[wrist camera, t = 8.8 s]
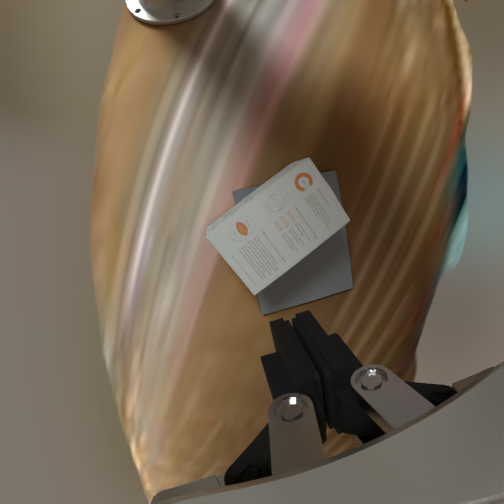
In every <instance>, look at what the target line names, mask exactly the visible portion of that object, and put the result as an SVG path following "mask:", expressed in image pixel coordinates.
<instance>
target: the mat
mask: <svg viewBox="0 0 504 504" xmlns="http://www.w3.org/2000/svg"><path fill="white" fill-rule="evenodd" d="M320 174H321V175H322V177H323V178H324V180H325V181H326V182H327V183H328V185H329V186H330V188H331V189H332V191H333V192H334V194H335V196H336V198H337V200H338V201H339V203H340V204H341V206H342V201H341V196H340V190H339V184H338V179H337V174H336V170H333V171H328V172H322V173H320ZM260 186H261V185H259V186H255V187H250V188H246V189H242V190H237V191H233V194H234V198H235V203H236V204H237V203H239V202H240V201H241V200H243V199H244V198H245V197H246V196H248V195H249V194H250V193H252V192H253V191H254V190H256V189H257V188H258V187H260ZM342 208H343V207H342ZM351 288H353V282H352V273H351V264H350V256H349V248H348V240H347V233H346V226H345V225H344V226H343V227H342V228H341V229H340V230H338V231H337V232H336V233H335V234H333V235H332V236H331V237H330V238H328V239H327V240H326V241H325V242H323V243H322V244H321V245H320V246H318V247H317V248H316V249H315V250H313V251H312V252H311V253H310V254H308V255H307V256H306V257H305V258H303V259H302V260H301V261H300V262H298V263H297V264H296V265H294V266H293V267H292V268H291V269H289V270H288V271H287V272H286V273H284V274H283V275H282V276H280V277H279V278H278V279H276V280H275V281H274V282H272V283H271V284H270V285H268V286H267V287H266V288H264V289H263V290H262V291H260V292H259V293H258V294H257V296H258V300H259V304H260V308H261V313H262V315H264V314H268V313H272V312H275V311H279V310H282V309H286V308H289V307H293V306H296V305H300V304H303V303H306V302H310V301H313V300H316V299H319V298H323V297H326V296H329V295H332V294H335V293H339V292H342V291H345V290H348V289H351Z"/></svg>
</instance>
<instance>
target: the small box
mask: <svg viewBox="0 0 504 504" xmlns="http://www.w3.org/2000/svg"><path fill="white" fill-rule="evenodd" d="M349 221H350V219H349V217H348V216H347V214H346V213H345V211H344V209H343V208H342V206H341V204H340V203H339V201H338V200H337V198H336V196H335V194H334V192H333V191H332V189H331V188H330V186H329V185H328V183H327V182H326V181H325V180H324V178H323V177H322V175H321V174H320V172H319V171H318V169H317V168H316V167H315V165H314V163H313V162H312V160H311V159H310V158H305V159H302V160H298V161H295V162H292V163H291V164H289V165H288V166H286V167H285V168H284V169H282V170H281V171H280V172H278V173H277V174H276V175H274V176H273V177H271V178H270V179H269V180H267V181H266V182H265V183H264V184H262V185H261V186H260V187H258V188H257V189H256V190H254V191H253V192H252V193H250V194H249V195H248V196H246V197H245V198H244V199H243V200H241V201H240V202H239V203H237V204H236V205H235V206H233V207H232V208H231V209H230V210H228V211H227V212H226V213H225V214H223V215H222V216H221V217H220V218H218V219H217V220H216V221H215V222H213V223H212V224H211V225H210V226H208V228H207V233H206V238H207V239H208V240H209V241H210V243H211V244H212V245H213V246H214V247H215V249H216V250H217V251H218V252H219V253H220V255H221V256H222V257H223V258H224V259H225V261H226V262H227V263H228V264H229V265H230V267H231V268H232V269H233V270H234V271H235V273H236V274H237V275H238V276H239V277H240V279H241V280H242V281H243V282H244V283H245V285H246V286H247V287H248V288H249V289H250V291H251V292H252V293H253V294H254V295H256V294H258V293H259V292H260V291H262V290H263V289H264V288H266V287H267V286H268V285H270V284H271V283H272V282H274V281H275V280H276V279H278V278H279V277H280V276H282V275H283V274H284V273H286V272H287V271H288V270H289V269H291V268H292V267H293V266H294V265H296V264H297V263H298V262H300V261H301V260H302V259H303V258H305V257H306V256H307V255H308V254H310V253H311V252H312V251H313V250H315V249H316V248H317V247H318V246H320V245H321V244H322V243H323V242H325V241H326V240H327V239H328V238H330V237H331V236H332V235H333V234H335V233H336V232H337V231H338V230H340V229H341V228H342V227H343V226H344V225H346V224H347V223H348V222H349Z"/></svg>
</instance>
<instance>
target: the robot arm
mask: <svg viewBox="0 0 504 504" xmlns="http://www.w3.org/2000/svg"><path fill="white" fill-rule="evenodd" d="M214 1H215V0H126V5H127V8H128V10H129V12H130V13H131V14H132V16H133V17H135V18H136V19H138V20H139V21H142V22H144V23H148V24H153V25H169V24H175V23H180V22H183V21H187V20H190V19H192V18H194V17H196V16H198V15H200V14H201V13H203V12H204V11H206V10H207V9H208V8H209V7H210V6H211V5H212V4H213V2H214ZM269 323H270V328H271V332H272V336H273V340H274V345H275V349H276V352H275V353H272V354H268V355H265V356H261V361H262V364H263V368H264V371H265V375H266V378H267V382H268V385H269V388H270V391H271V394H272V398H273V402H272V403H271V404H270V406H269V408H268V424H267V425H266V426H265V427H264V429H263V430H262V431H261V432H260V433H259V435H258V436H257V437H256V438H255V439H254V440H253V442H252V443H251V444H250V445H249V446H248V447H247V448H246V450H245V451H244V452H243V453H242V454H241V455H240V456H239V457H238V458H237V459H236V461H235V462H234V463H233V464H232V465H231V466H230V467H229V468H228V470H227V471H226V473H225V474H223V475H220V476H217V477H216V476H215V475H212V476H209V477H206V478H203V479H200V480H197V481H194V482H191V483H188V484H184V485H181V486H177V487H174V488H170V489H166V490H163V491H161V492H159V493H157V494H156V495H155V496H154V497H153V499H152V501H151V504H504V362H502V363H500V364H499V365H497V366H495V367H491V368H488V369H486V370H483V371H481V372H479V373H477V374H475V375H472V376H470V377H467V378H465V379H462V380H460V381H457V382H455V383H453V385H452V387H450V386H446V385H438V384H426V383H416V382H407V381H403V380H401V379H400V378H399V377H398V376H396V375H395V374H394V373H393V372H391V371H390V370H389V369H387V368H386V367H384V366H381V365H366V366H363V365H362V364H361V363H360V362H359V360H358V359H357V358H356V356H355V355H354V354H353V353H352V351H351V350H350V349H349V348H348V346H347V345H346V344H345V343H344V341H343V340H342V339H341V338H340V336H339V335H338V334H337V333H334V334H331V335H327V334H326V332H325V331H324V330H323V328H322V327H321V326H320V324H319V323H318V322H317V320H316V319H315V318H314V316H313V315H312V314H311V312H310V311H309V310H307V311H304V312H301V313H298V314H296V318H293V319H292V324H293V327H292V325H291V324H290V322H289V320H286V321H284V320H283V318H281V319H278V320H274V321H271V322H269ZM326 422H327V424H328V426H329V428H330V429H332V428H334V427H335V429H336V431H337V433H338V434H340V433H342V432H343V433H347V434H351V437H352V439H353V440H354V442H355V443H356V444H357V445H358V447H356V448H353V449H351V450H348V451H346V452H343V453H341V454H338V455H335V456H333V457H330V458H327V459H326V458H325V454H324V449H323V444H324V442H325V441H326V439H327V436H326Z"/></svg>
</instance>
